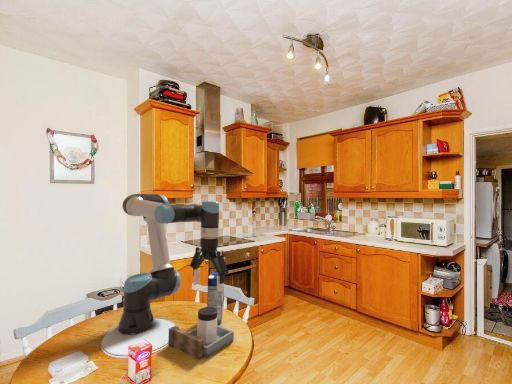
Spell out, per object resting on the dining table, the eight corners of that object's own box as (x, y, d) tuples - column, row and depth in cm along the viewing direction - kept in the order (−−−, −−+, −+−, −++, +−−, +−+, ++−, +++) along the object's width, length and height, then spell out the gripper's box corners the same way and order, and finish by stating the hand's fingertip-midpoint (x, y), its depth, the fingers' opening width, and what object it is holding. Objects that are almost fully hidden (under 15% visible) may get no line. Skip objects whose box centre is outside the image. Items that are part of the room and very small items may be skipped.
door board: (168, 345, 110) (168, 328, 110) (174, 342, 112) (175, 325, 113) (197, 361, 100) (198, 342, 100) (204, 357, 102) (204, 338, 103)
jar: (200, 347, 107) (201, 316, 107) (193, 337, 113) (194, 309, 114) (221, 340, 112) (221, 311, 112) (212, 332, 118) (213, 305, 119)
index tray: (180, 345, 110) (180, 335, 110) (208, 330, 123) (208, 321, 123) (206, 358, 102) (207, 348, 102) (233, 340, 115) (233, 331, 115)
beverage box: (206, 324, 129) (207, 278, 130) (210, 314, 140) (211, 272, 141) (220, 324, 130) (222, 278, 130) (223, 314, 140) (224, 272, 141)
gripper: (182, 235, 118) (181, 283, 117) (225, 242, 104) (224, 297, 103) (195, 233, 124) (194, 279, 124) (237, 239, 110) (236, 291, 109)
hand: (207, 287), depth 113 cm, fingers open, 13 cm apart
